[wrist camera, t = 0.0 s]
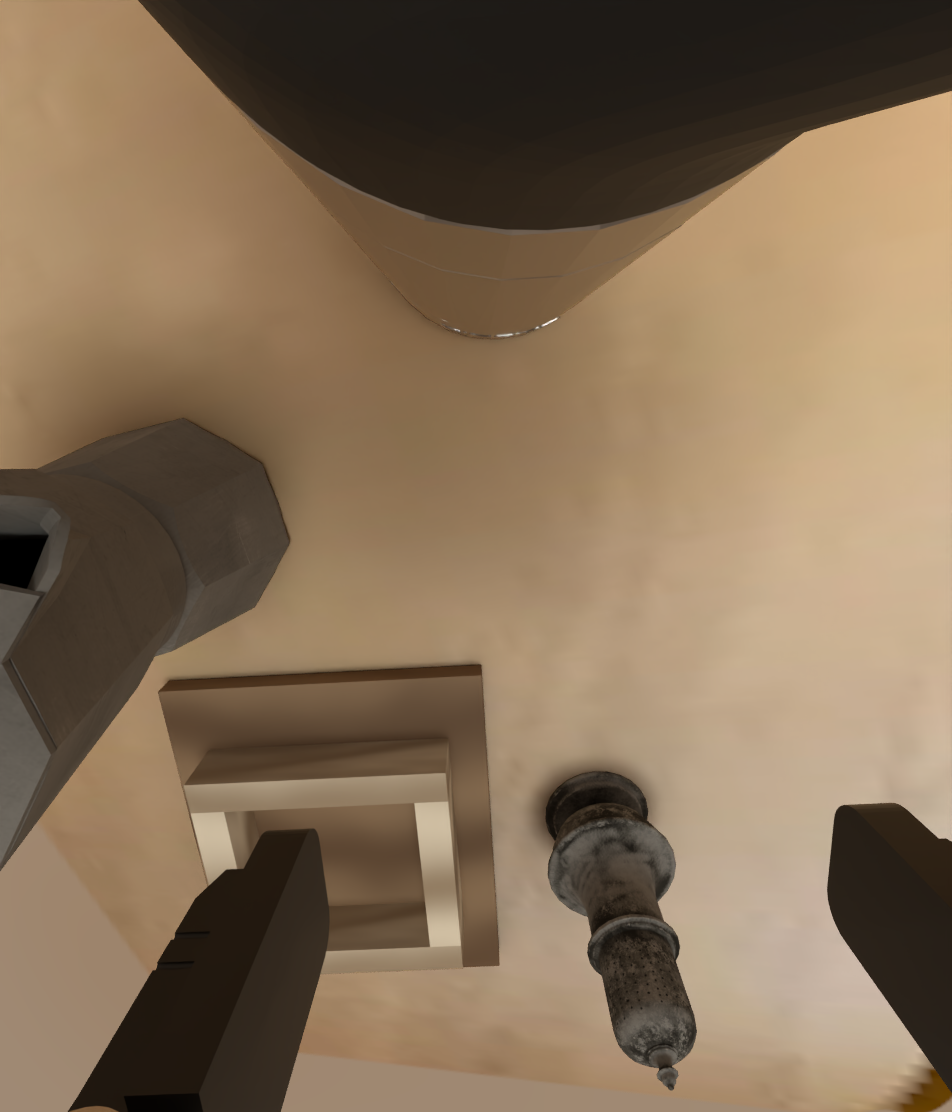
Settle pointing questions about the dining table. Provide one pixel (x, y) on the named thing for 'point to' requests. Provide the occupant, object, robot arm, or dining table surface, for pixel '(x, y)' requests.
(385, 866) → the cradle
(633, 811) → the salt shaker
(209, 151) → the dining table surface
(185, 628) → the coffeepot
